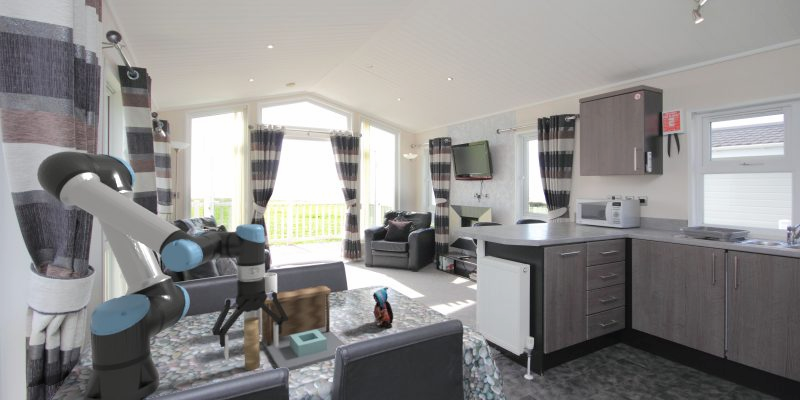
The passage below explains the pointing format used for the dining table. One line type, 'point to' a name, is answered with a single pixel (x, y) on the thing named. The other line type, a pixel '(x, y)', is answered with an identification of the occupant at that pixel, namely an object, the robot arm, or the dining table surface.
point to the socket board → (291, 357)
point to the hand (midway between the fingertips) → (252, 351)
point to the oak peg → (251, 343)
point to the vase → (269, 286)
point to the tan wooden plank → (298, 312)
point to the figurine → (382, 309)
